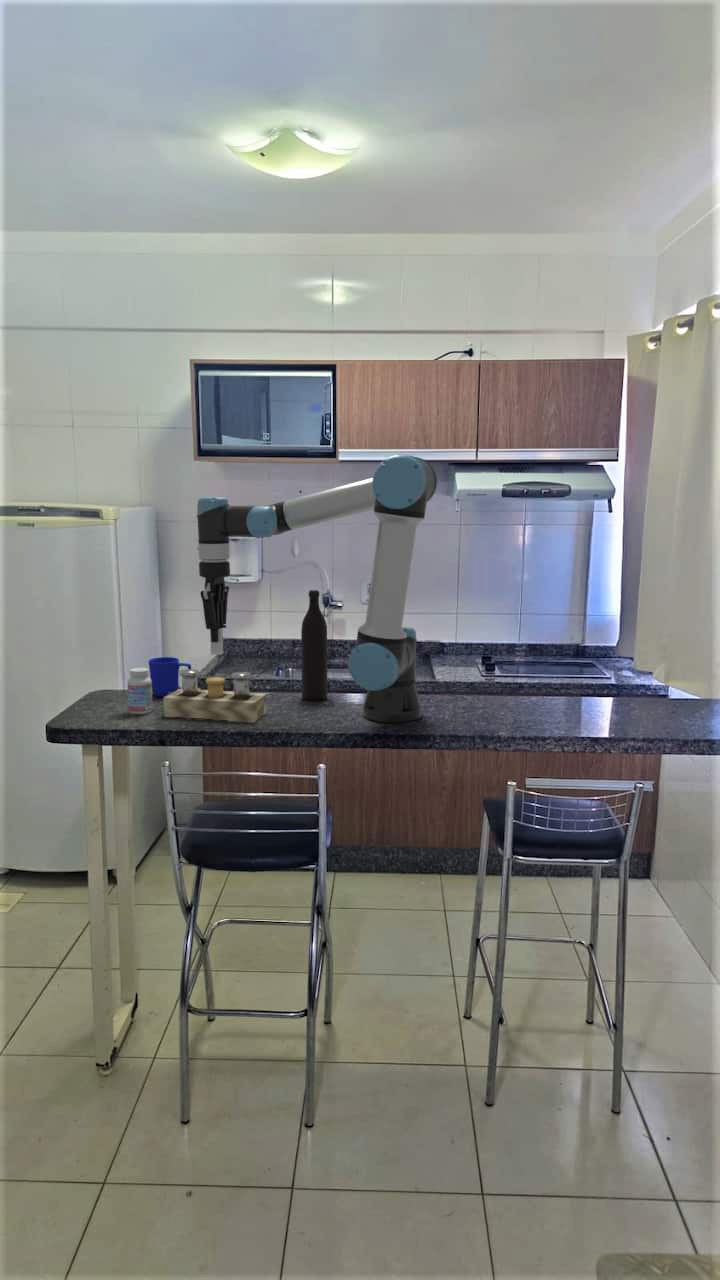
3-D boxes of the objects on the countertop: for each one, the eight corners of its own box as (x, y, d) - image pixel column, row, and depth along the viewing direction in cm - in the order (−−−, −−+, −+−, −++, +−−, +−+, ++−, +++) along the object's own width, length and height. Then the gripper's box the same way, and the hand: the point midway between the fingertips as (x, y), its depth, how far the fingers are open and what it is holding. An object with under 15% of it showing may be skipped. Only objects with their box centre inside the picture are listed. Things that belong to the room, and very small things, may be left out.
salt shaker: (202, 694, 207) (201, 669, 206) (195, 699, 202) (194, 673, 201) (185, 693, 208) (184, 668, 207) (177, 697, 203) (176, 672, 202)
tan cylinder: (228, 702, 206) (227, 677, 205) (221, 707, 201) (220, 682, 200) (210, 701, 207) (210, 676, 206) (203, 706, 202) (202, 680, 201)
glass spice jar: (253, 697, 204) (253, 672, 203) (247, 702, 199) (246, 676, 198) (236, 696, 205) (235, 671, 204) (229, 701, 200) (228, 675, 199)
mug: (185, 699, 219) (184, 664, 217) (144, 697, 221) (143, 662, 220) (197, 692, 227) (196, 658, 225) (158, 690, 229) (156, 656, 227)
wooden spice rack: (267, 712, 207) (266, 693, 206) (253, 722, 197) (253, 703, 196) (181, 706, 212) (180, 688, 211) (164, 716, 202) (163, 697, 201)
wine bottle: (328, 695, 225) (327, 589, 219) (326, 701, 218) (326, 592, 213) (303, 694, 225) (302, 589, 220) (300, 701, 218) (299, 592, 213)
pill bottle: (124, 714, 205) (122, 671, 203) (136, 708, 210) (134, 666, 208) (145, 715, 203) (143, 672, 201) (157, 709, 209) (155, 667, 207)
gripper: (210, 558, 204) (213, 648, 209) (189, 562, 192) (192, 658, 196) (238, 558, 203) (240, 650, 207) (218, 563, 190) (221, 659, 194)
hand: (217, 654), depth 202 cm, fingers closed
